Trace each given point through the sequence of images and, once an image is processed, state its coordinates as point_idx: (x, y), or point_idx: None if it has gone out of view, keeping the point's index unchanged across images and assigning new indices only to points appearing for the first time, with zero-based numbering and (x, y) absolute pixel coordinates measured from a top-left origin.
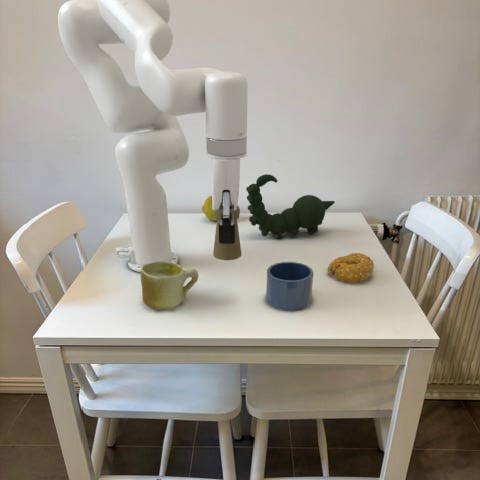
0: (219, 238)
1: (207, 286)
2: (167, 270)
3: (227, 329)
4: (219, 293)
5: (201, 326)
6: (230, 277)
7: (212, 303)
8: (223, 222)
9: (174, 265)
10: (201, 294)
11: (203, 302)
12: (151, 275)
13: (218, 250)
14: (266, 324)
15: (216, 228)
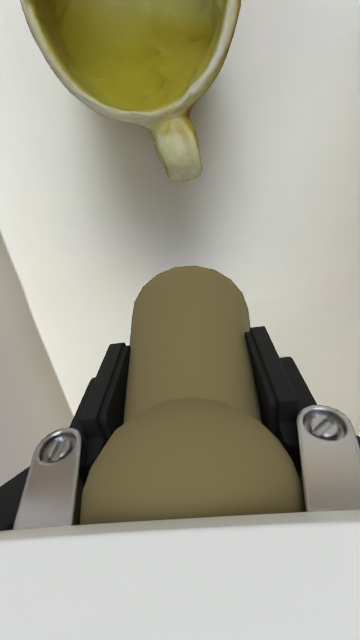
0: (106, 358)
1: (261, 186)
2: (216, 3)
3: (49, 282)
4: (218, 232)
5: (40, 218)
6: (318, 247)
7: (160, 223)
8: (8, 488)
9: (217, 41)
10: (208, 178)
11: (161, 196)
12: None
13: (137, 312)
14: (93, 354)
15: (163, 356)
